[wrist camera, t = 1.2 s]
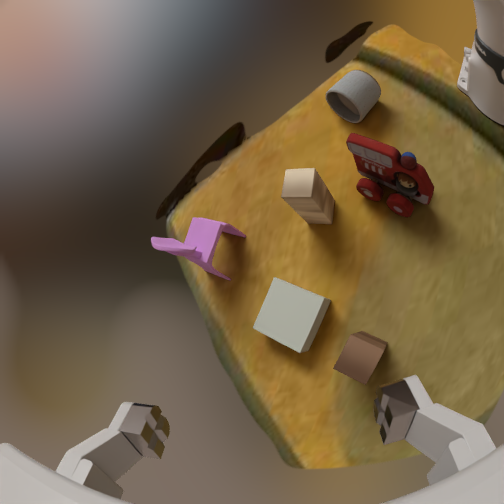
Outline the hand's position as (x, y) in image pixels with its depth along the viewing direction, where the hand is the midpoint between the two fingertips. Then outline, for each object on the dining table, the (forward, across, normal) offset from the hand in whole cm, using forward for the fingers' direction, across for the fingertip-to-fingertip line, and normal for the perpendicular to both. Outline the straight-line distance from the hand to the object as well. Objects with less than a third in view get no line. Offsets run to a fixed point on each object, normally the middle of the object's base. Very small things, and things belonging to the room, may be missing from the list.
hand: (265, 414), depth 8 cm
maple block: (+35, -8, 0) cm, 36 cm away
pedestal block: (+29, -2, +13) cm, 32 cm away
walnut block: (+22, -11, +17) cm, 30 cm away
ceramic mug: (+43, -19, -18) cm, 51 cm away
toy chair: (+40, +8, +6) cm, 41 cm away
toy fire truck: (+32, -20, -3) cm, 38 cm away
